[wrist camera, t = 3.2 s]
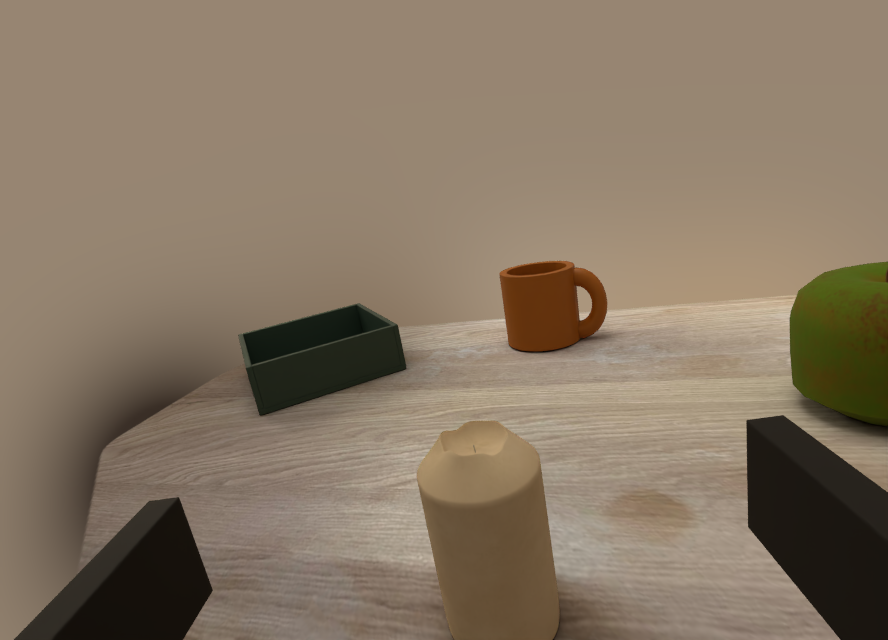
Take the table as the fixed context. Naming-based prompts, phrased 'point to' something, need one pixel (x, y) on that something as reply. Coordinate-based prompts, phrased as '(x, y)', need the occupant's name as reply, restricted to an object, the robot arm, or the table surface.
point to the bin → (319, 355)
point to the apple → (843, 341)
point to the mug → (549, 305)
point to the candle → (490, 534)
